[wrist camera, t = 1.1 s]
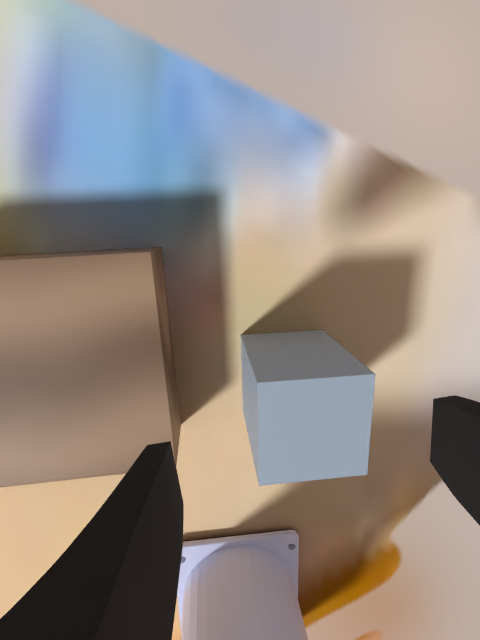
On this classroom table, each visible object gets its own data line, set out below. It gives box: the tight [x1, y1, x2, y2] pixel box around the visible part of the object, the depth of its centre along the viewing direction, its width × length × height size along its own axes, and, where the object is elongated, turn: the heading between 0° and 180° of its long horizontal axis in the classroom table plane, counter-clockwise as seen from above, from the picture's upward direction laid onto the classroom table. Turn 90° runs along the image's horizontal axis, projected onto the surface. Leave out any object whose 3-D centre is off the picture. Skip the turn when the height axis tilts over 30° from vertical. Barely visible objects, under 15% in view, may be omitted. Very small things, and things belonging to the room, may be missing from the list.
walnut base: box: [0, 247, 181, 487], centre depth 16 cm, size 10×10×4 cm
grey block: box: [241, 330, 375, 486], centre depth 16 cm, size 5×5×6 cm
